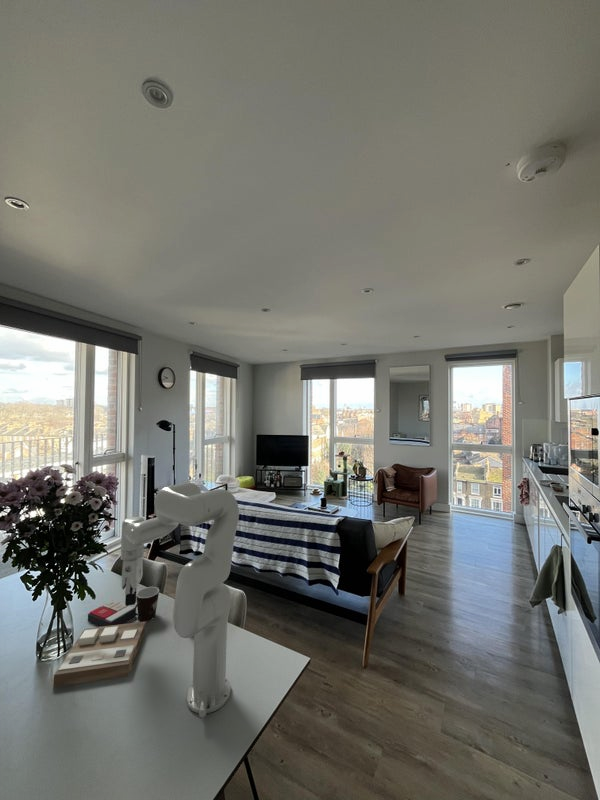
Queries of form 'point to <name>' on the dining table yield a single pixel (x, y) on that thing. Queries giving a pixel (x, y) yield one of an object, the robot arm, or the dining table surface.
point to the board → (100, 657)
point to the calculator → (111, 614)
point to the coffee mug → (146, 603)
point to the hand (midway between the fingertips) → (130, 603)
